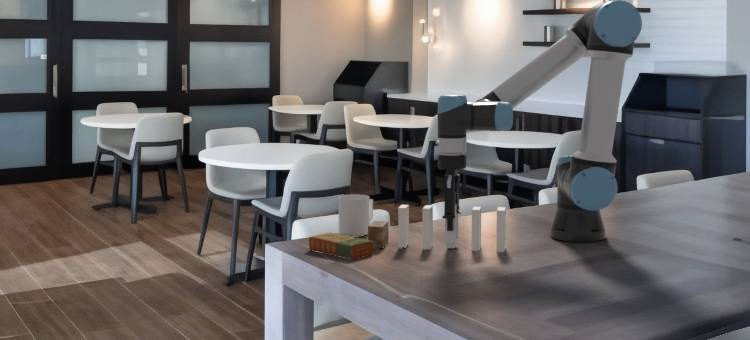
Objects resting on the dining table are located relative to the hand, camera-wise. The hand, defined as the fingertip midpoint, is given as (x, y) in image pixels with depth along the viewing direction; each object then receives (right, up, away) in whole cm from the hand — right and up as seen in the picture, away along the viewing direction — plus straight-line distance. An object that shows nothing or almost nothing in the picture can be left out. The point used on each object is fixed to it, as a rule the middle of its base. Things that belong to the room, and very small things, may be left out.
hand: (451, 240), depth 230 cm
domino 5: (+13, -2, -2) cm, 13 cm away
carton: (-29, -4, -3) cm, 30 cm away
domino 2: (-6, -2, +2) cm, 7 cm away
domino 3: (0, -2, 0) cm, 2 cm away
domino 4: (+6, -2, -1) cm, 7 cm away
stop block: (-20, -2, +4) cm, 20 cm away
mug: (-25, 0, +20) cm, 32 cm away
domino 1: (-13, -2, +3) cm, 13 cm away
